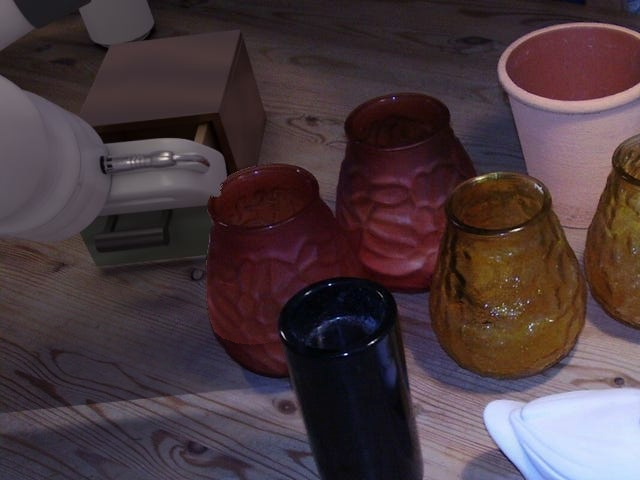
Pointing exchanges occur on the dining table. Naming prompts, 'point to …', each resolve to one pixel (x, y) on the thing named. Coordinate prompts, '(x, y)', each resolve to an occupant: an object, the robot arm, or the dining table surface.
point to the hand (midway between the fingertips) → (120, 202)
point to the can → (117, 21)
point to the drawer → (153, 212)
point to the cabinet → (182, 90)
